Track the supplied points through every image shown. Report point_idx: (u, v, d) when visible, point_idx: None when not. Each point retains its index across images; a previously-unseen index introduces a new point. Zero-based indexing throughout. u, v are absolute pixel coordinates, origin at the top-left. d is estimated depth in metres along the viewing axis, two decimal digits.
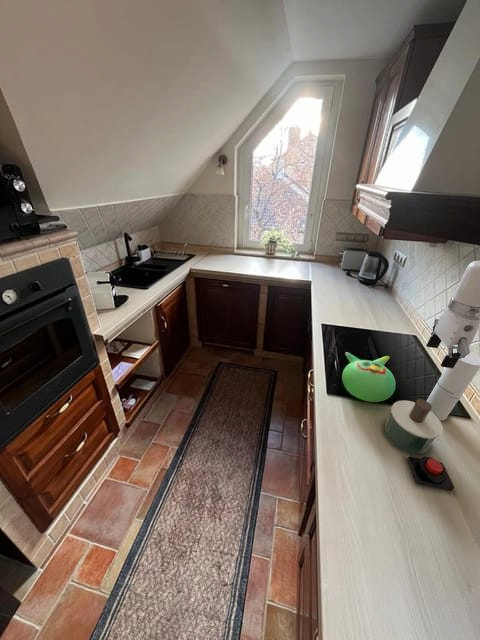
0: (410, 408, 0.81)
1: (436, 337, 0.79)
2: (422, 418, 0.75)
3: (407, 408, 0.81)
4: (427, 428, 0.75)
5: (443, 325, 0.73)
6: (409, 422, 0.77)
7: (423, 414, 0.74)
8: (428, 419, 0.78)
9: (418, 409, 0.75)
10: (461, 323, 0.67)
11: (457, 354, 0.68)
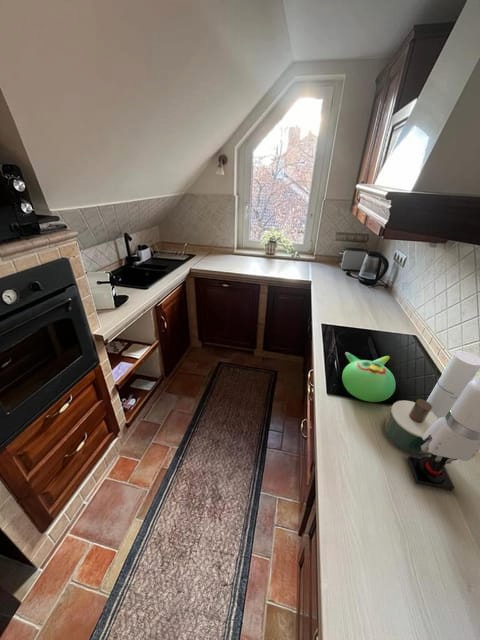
0: (410, 408, 0.81)
1: None
2: (422, 418, 0.75)
3: (407, 408, 0.81)
4: (427, 428, 0.75)
5: (454, 449, 0.62)
6: (409, 422, 0.77)
7: (423, 414, 0.74)
8: (428, 419, 0.78)
9: (418, 409, 0.75)
10: None
11: (457, 458, 0.66)
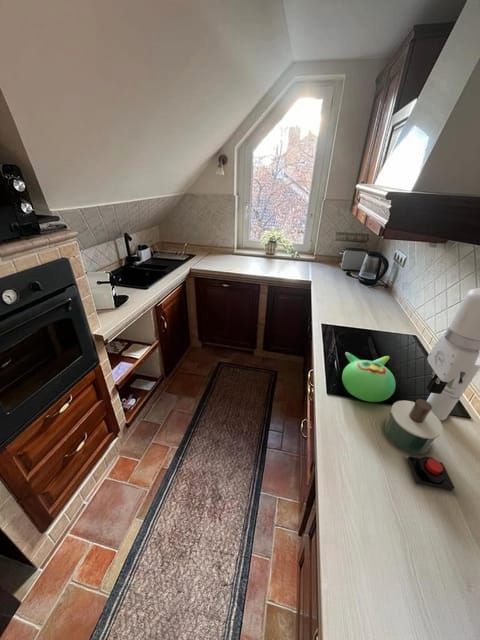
0: (410, 408, 0.81)
1: None
2: (422, 418, 0.75)
3: (407, 408, 0.81)
4: (427, 428, 0.75)
5: None
6: (409, 422, 0.77)
7: (423, 414, 0.74)
8: (428, 419, 0.78)
9: (418, 409, 0.75)
10: None
11: None
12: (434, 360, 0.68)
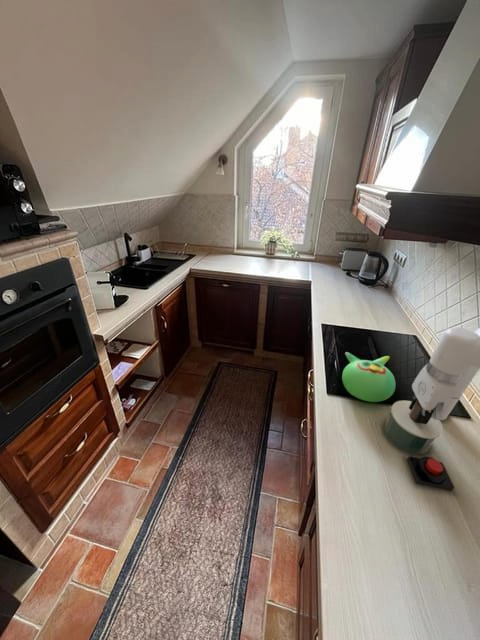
0: None
1: None
2: None
3: (407, 408, 0.81)
4: (427, 428, 0.75)
5: None
6: (409, 422, 0.77)
7: None
8: None
9: (418, 409, 0.75)
10: None
11: None
12: (417, 388, 0.74)
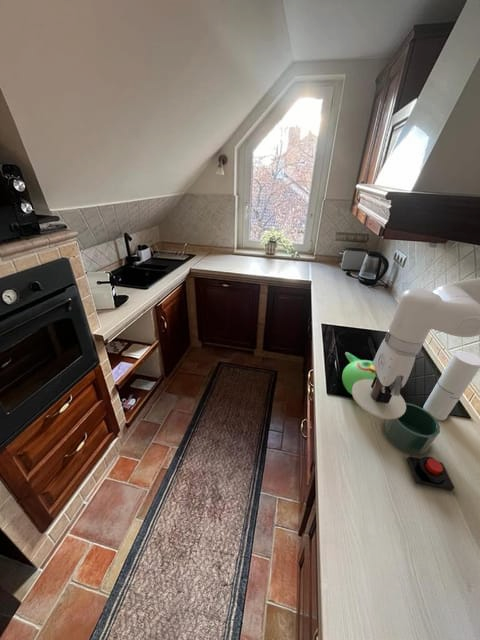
0: (373, 387, 0.73)
1: None
2: None
3: (369, 387, 0.73)
4: (388, 408, 0.66)
5: None
6: (369, 401, 0.68)
7: None
8: (391, 399, 0.69)
9: (379, 386, 0.66)
10: None
11: None
12: (377, 363, 0.66)
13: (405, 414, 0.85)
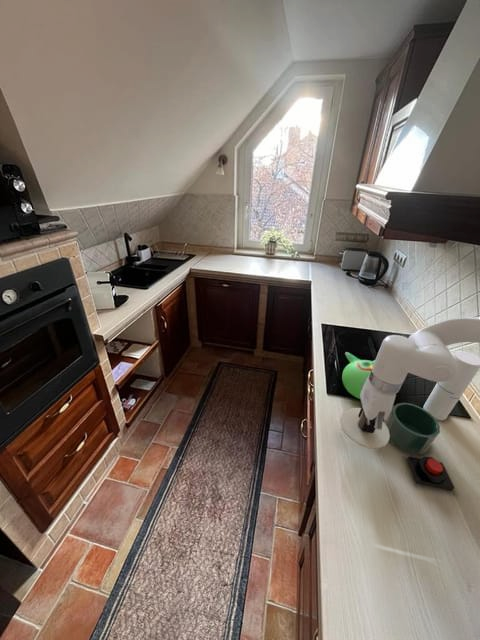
0: None
1: None
2: None
3: (357, 416, 0.79)
4: (373, 437, 0.73)
5: None
6: (356, 430, 0.75)
7: None
8: None
9: (364, 417, 0.73)
10: None
11: None
12: (363, 397, 0.72)
13: (405, 414, 0.85)
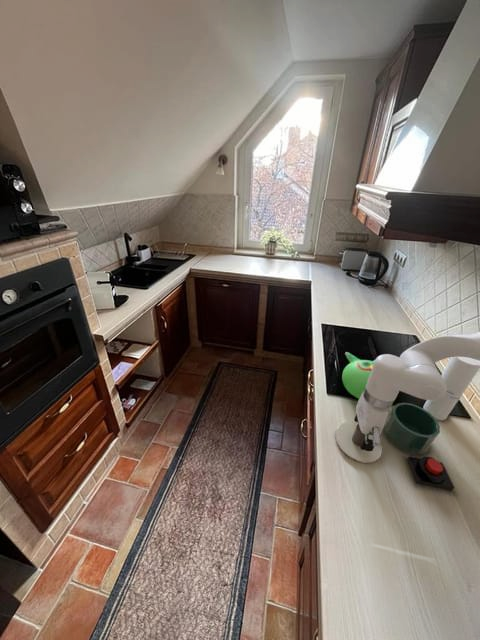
0: (354, 430, 0.83)
1: None
2: None
3: (351, 430, 0.83)
4: (366, 452, 0.76)
5: None
6: (350, 445, 0.78)
7: (362, 438, 0.76)
8: None
9: (358, 433, 0.76)
10: None
11: None
12: (358, 411, 0.75)
13: (405, 414, 0.85)
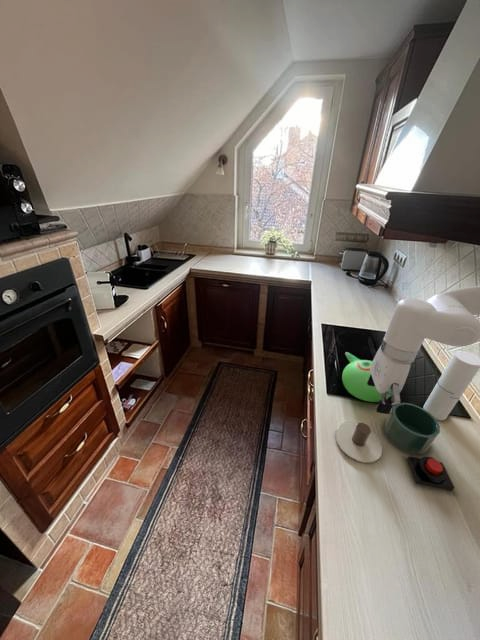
0: (354, 430, 0.83)
1: None
2: (362, 442, 0.77)
3: (351, 430, 0.83)
4: (366, 452, 0.76)
5: None
6: (350, 445, 0.78)
7: (362, 438, 0.76)
8: (370, 442, 0.79)
9: (358, 433, 0.76)
10: None
11: None
12: (374, 370, 0.67)
13: (405, 414, 0.85)
